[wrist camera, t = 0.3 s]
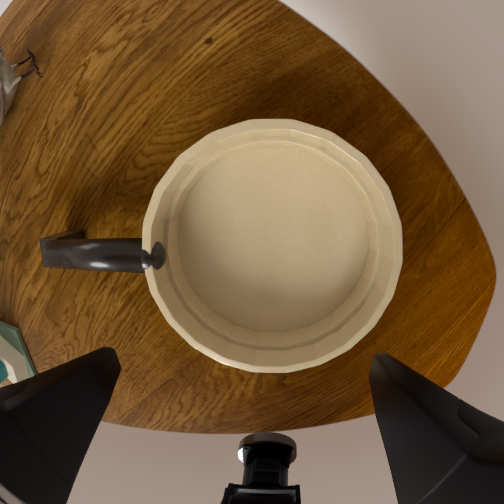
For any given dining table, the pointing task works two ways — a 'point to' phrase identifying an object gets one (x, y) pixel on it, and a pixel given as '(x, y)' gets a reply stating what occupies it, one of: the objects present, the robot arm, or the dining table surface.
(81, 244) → the pan handle
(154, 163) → the dining table surface
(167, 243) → the pan
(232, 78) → the dining table surface
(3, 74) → the decorative bird
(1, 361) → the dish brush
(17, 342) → the mat
